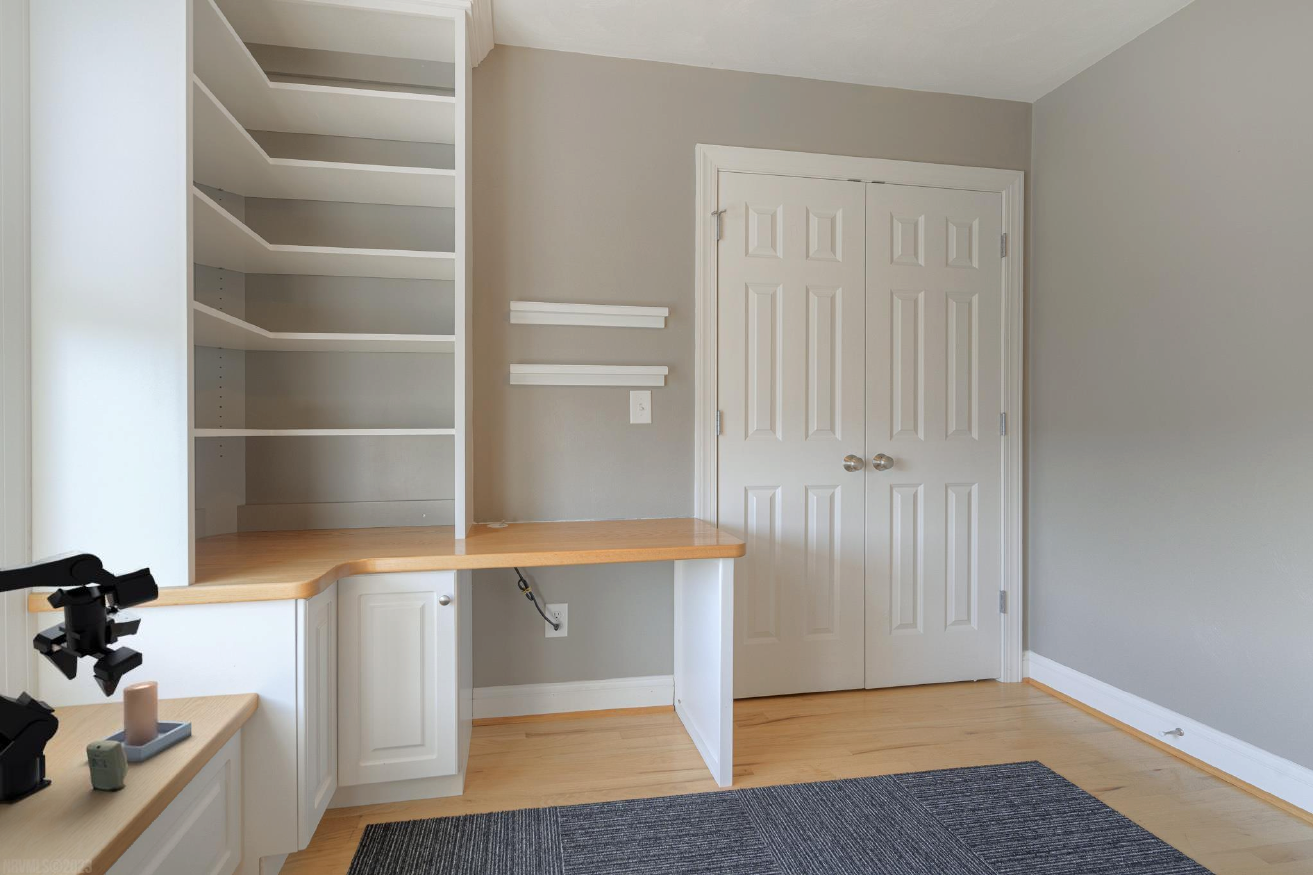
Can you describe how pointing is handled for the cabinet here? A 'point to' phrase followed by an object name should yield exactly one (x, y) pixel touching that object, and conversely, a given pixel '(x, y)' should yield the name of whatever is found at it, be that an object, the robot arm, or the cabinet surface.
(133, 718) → the peach rounded peg
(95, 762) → the power adapter
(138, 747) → the tray
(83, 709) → the cabinet surface
